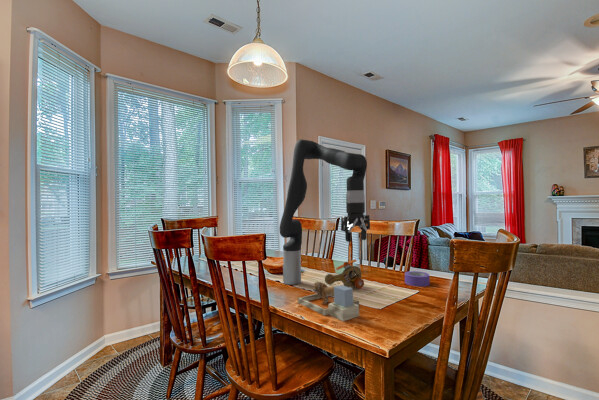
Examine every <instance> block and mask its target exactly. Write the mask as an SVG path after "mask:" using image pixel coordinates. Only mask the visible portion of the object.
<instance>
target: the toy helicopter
mask: <svg viewBox="0 0 599 400" xmlns="http://www.w3.org/2000/svg"><path fill="white" fill-rule="evenodd" d="M356 262H357V259H352V260H349V261H344V262H343V264H341V265H339V266H336V268H335V270H337V271H339V270H341V269H344V270H343V271H342V273H338V274H331V273H328V274H326V275H325V277H324V282H325V284H327V285H330V286H331V285H332V286H333V284H334V283H336V282H337V283H338V282H342V284H343V286H346V287H349V288H353V287H356V289H363V288H364V286H365V282H364V279H362V270H361V268H360V267H359V266H357V265H351V264H353V263H356Z"/></svg>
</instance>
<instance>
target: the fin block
mask: <svg viewBox="0 0 599 400" xmlns="http://www.w3.org/2000/svg"><path fill="white" fill-rule="evenodd" d="M353 291H354V290H353V287H346V286H344V284H343V285H341V284H339V285H335V286H334V297H333V303H336V304H338V305H341V306H343V307H347V306H351V305H353V299H354V293H353Z"/></svg>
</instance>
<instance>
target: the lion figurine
mask: <svg viewBox="0 0 599 400" xmlns="http://www.w3.org/2000/svg"><path fill="white" fill-rule="evenodd" d="M313 285H314V286H313V288H312V291H314V293H315V294H319V295H320V296H322V298H321V299H322V300H323V302H322V305H325V304H327V303H330V302H329V301H330V300H329V297H333V298H334V287H335V286H333V285H332V286H327V285H326V283H323V282H321V281H315V282H314V283H313ZM325 296H326V297H325Z"/></svg>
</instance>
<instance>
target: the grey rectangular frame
mask: <svg viewBox="0 0 599 400" xmlns="http://www.w3.org/2000/svg"><path fill="white" fill-rule="evenodd" d="M325 298H326V296H325ZM318 299H323V298H322V296H320V295H319V294H317V293H313V294H309V295H305V296H299V297H297V303H298V304H299V305H302V306H304V307H306V308H308V309H310V310H312V311H314V312H315V313H318V314H320V315H322V316H331V317H333V318H335V319H338V320H339V321H342V322H345V321H347V320H351V319H355V318H357V317H360V300H358V299H355V298H353V305H351V306H347V307H343V306H341V305H338V304H336V303H334V302H331V303H330V302H329V303H327V304H328V306H327V308H324V307H321V306H319V305H317V304H315V303H313V302H311V301H315V300H318Z"/></svg>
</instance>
